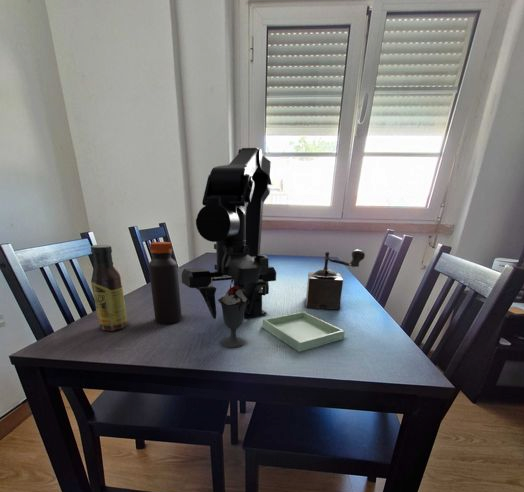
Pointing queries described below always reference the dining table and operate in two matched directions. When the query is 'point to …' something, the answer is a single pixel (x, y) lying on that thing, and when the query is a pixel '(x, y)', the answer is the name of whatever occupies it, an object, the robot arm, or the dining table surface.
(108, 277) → the sauce bottle
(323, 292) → the manual coffee grinder
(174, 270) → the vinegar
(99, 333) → the dining table surface
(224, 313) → the sundae
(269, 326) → the serving tray
